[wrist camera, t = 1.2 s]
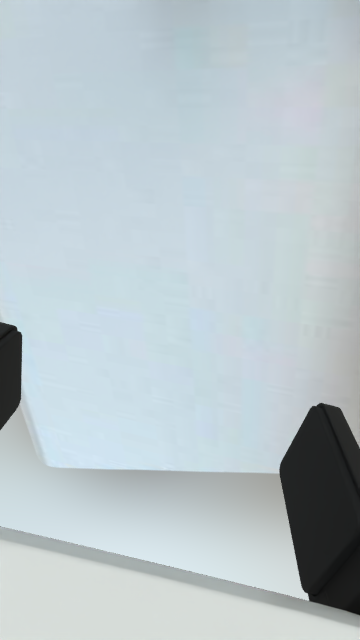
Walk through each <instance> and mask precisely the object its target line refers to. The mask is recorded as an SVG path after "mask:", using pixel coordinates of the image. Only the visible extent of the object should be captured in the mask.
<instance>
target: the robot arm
mask: <svg viewBox="0 0 360 640" xmlns="http://www.w3.org/2000/svg"><path fill="white" fill-rule="evenodd" d="M21 367H22V334H21V332H18V331H17V327H16V326H13V325H9V324H5V323H1V322H0V430H1V429H2V427H3V426H4V425H5V423H6V422H7V421H8V420H9V418H10V417H11V416H12V414H13V413H14V412H15V411H16V409H17V407H18V406H19V403H20V400H21ZM280 478H281V483H282V489H283V494H284V499H285V504H286V509H287V514H288V519H289V524H290V529H291V535H292V540H293V545H294V550H295V555H296V560H297V565H298V570H299V576H300V581H301V585H302V588H303V590H304V592H306V593H308V596H309V601H306V600H303V599H299V598H295V597H292V596H288V595H284V594H280V593H276V592H272V591H267V590H264V589H259V588H256V587H251V586H247V585H243V584H239V583H235V582H231V581H227V580H223V579H218V578H215V577H211V576H207V575H203V574H198V573H194V572H190V571H186V570H182V569H178V568H174V567H170V566H165V565H161V564H157V563H153V562H149V561H144V560H140V559H136V558H132V557H128V556H124V555H120V554H115V553H111V552H107V551H103V550H99V549H94V548H90V547H86V546H81V545H78V544H73V543H69V542H65V541H61V540H56V539H52V538H48V537H43V536H39V535H35V534H31V533H26V532H22V531H18V530H13V529H9V528H5V527H1V526H0V640H360V448H359V446H358V444H357V442H356V440H355V438H354V436H353V434H352V432H351V429H350V427H349V425H348V423H347V421H346V419H345V417H344V415H343V413H342V411H341V409H340V408H338V407H335V406H331V405H327V404H323V403H319V404H318V405H317V406H312V407H311V409H310V410H309V412H308V414H307V416H306V417H305V419H304V421H303V423H302V425H301V427H300V428H299V430H298V432H297V434H296V436H295V438H294V439H293V441H292V443H291V445H290V447H289V449H288V450H287V452H286V454H285V456H284V458H283V460H282V462H281V464H280Z"/></svg>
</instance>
